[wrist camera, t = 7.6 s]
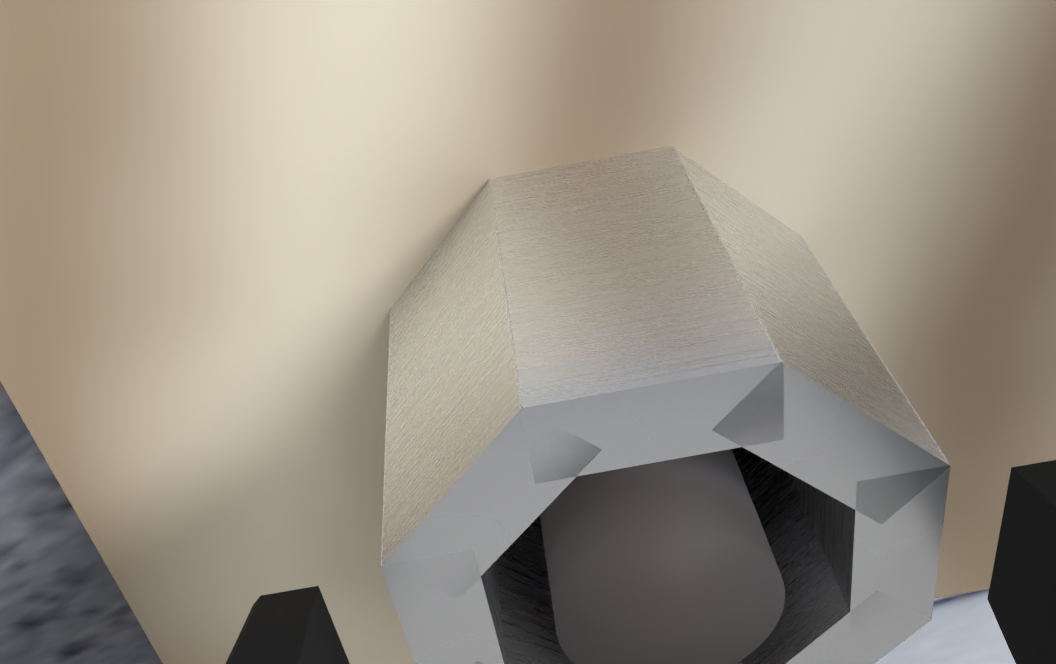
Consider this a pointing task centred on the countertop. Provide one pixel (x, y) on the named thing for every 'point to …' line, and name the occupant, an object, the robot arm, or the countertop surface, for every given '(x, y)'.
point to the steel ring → (643, 409)
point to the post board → (421, 225)
